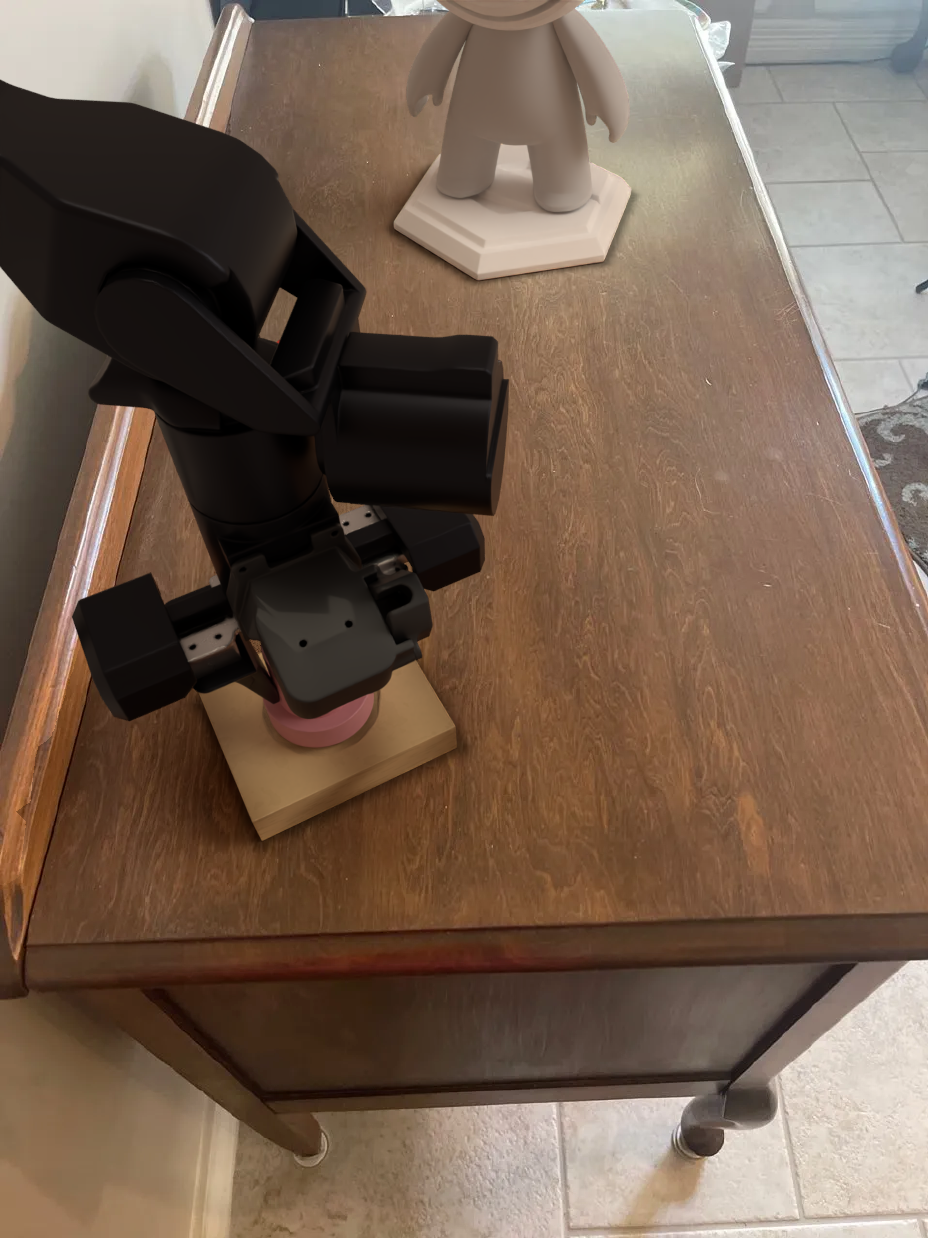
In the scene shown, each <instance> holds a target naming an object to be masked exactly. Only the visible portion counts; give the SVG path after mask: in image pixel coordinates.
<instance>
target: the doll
mask: <svg viewBox="0 0 928 1238" xmlns="http://www.w3.org/2000/svg"><path fill="white" fill-rule="evenodd" d="M260 651H261V652H262V656H263V658H264V661H265V664H266V667H267V669H268V671H267V672H268V674H269V676H270V678H271V680H272V682H273V684H274V686H275V688H276V690H277V693H278V696H279V699H280V702H278V703H276V704H272V703H270V702H269V701H267V700H265V699H264V698H263V702H264V705H265V708H266V710H267V713H268V715H269V718H270V720H271V723H272V725H273V726H274V728H275V729H276V731H277V732H278V733H279V734H280V735H281V736H282V737H284V738H285V739H287V740H288V741H290V742H292V743H294V744H297V745H300V746H305V747H313V748H316V747H326V746H331V745H335V744H337V743H340V742H342V741H344V740H346V739H348V738H349V737H351V736H352V735H354V734H355V733H356V732H357V731H358V730H359V729H360V728H361V727H362V726H363V725H364V724H365V722H366V721H367V719H368V717H369V715H370V713H371V710H372V708H373V702H374V693H372V694H368V695H365V696H363V697H360V698H358V699H356V700H354V701H352V702H349V703H347V704H345V705H343V706H340V707H338V708H336V709H334V710H332V711H330V712H329V713H327V714H325V715H323V716H320V717H318V718H314V719H304V718H301V717H299V716H297V715H295V714H294V713H293V712H292V711H291V710H290V708H289V706H288V704H287V702H286V700H285V698H284V695H283V693H282V691H281V688H280V686H279V684H278V682H277V680H276V677H275V675H274V673H273V671H272V669H271V666H270V664H269V662H268V660H267V658H266V655H265V653H264V651H263V649H262V646H261V645H260ZM261 652H260V653H261Z"/></svg>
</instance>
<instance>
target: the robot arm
mask: <svg viewBox="0 0 928 1238" xmlns="http://www.w3.org/2000/svg"><path fill="white" fill-rule="evenodd" d="M279 179H280V178H279V173H278V171H277V170H276V168H275V167H274V166H273V165H272V164H271V163H270V162H269V161H268V160H267V159H266V158H265V157H264V156H263V155H262V154H261V153H259V151H257V150H255V149H254V148H253V147H251V146H250V145H248V144H247V143H245V141H242V140H240V139H239V138H237V137H235V136H232V135H230V134H227V133H225V132H222V131H220V130H218V129H214V128H211V127H208V126H204V125H202V124H199V123H195V122H192V121H191V120H187V119H184V118H180V117H178V116H175V115H171V114H168V113H165V112H162V111H160V110H156V109H153V108H150V107H147V106H144V105H141V104H138V103H134V102H128V101H110V100H93V99H91V100H90V99H76V98H75V99H72V98H56V97H50V96H47V95H44V94H41V93H38V92H35V91H31V90H29V89H26V88H22V87H20V86H16V85H14V84H12V83H9V82H7V81H5V80H2V79H0V269H1V270H2V271H3V273H4V274H5V275H6V276H7V277H8V278H9V279H10V280H11V282H12V283H13V284H14V286H15V287H16V288H17V289H18V290H19V291H20V293H21V294H22V295H23V297H25V299H26V300H27V302H29V303H30V304H31V306H32V307H33V308H34V309H35V310H36V312H37V313H38V314H39V315H40V316H41V318H43V319H44V320H45V321H46V322H48V324H49V323H50V324H51V325H52V326H54V327H56V328H58V329H59V330H62V331H63V332H65V333H67V334H69V335H71V336H72V337H74V338H76V339H77V340H80V341H81V342H83V343H84V344H86V345H88V346H89V347H92V348H94V349H95V350H97V351H98V352H101V353H103V354H104V355H106V358H105V360H104V362H103V363H102V365H101V366H100V368H99V370H98V372H97V374H96V375H95V376H94V378H93V380H92V382H91V384H90V385H89V387H88V389H87V396H88V398H89V399H90V400H91V401H92V402H93V403H95V404H97V405H101V406H112V407H124V408H126V407H127V408H139V409H140V408H141V409H148V410H151V411H153V414H154V415H155V418H156V421H157V423H158V427H159V429H160V430H161V434H162V436H163V439H164V442H165V444H166V447H167V449H168V452H169V454H170V457H171V460H172V462H173V465H174V468H175V470H176V473H177V476H178V478H179V481H180V484H181V486H182V489H183V492H184V494H185V496H186V499H187V501H188V504H189V506H190V509H191V512H192V513H193V517H194V519H195V522H196V524H197V527H198V530H199V533H200V535H201V537H202V538H201V539H202V540H203V543H204V545H205V548H206V550H207V553H208V556H209V558H210V562H211V564H212V566H213V569H214V571H215V575H213V576H211V577H210V578H209V579H208V583H209V584H207V585H205V586H202V587H200V588H197V589H195V590H193V591H189V592H187V593H184V594H182V595H180V596H177V597H175V598H173V599H170V600H168V601H167V602H165V601H164V600H163V597H162V593H161V591H160V588H159V586H158V584H157V581H156V580H155V578H154V575H153V573H152V571H151V572H147V573H145V574H141V575H140V576H137V577H134V578H132V579H129V580H127V581H124V582H121V583H119V584H116V585H114V586H111V587H109V588H106V589H104V590H103V589H102V590H101V591H98V592H96V593H93V594H90V595H88V596H86V597H83V598H80V599H79V600H77V603H76V605H75V608H74V610H73V612H72V615H71V619H72V622H73V625H74V628H75V631H76V633H77V637H78V639H79V642H80V646H81V648H82V651H83V652H82V653H83V654H84V657H85V660H86V664H87V666H88V669H89V672H90V676H91V678H92V681H93V684H94V685H95V688H96V690H97V693H98V695H99V696H100V698H101V700H102V702H103V703H104V704H105V706H106V708H107V709H108V710H109V712H110V713H111V715H112V717H113V718H115V719H119V720H122V721H126V722H133V721H135V720H137V719H139V718H141V717H144V716H146V715H148V714H151V713H153V712H155V711H158V710H160V709H163V708H165V707H167V706H169V705H172V704H174V703H177V702H178V701H181V700H184V699H185V698H186V699H187V696H188V695H189V694H190V692H191V691H192V690H194V691H195V692H197V693H198V692H199V693H202V694H206V693H210V692H213V691H215V690H217V689H220V688H222V687H224V686H227V685H229V684H231V683H234V682H236V683H239V684H241V685H243V686H245V687H246V688H248V689H250V690H251V691H253V692H254V693H256V694H258V695H259V696H261V697H262V698H264V699H265V700H267V701H269V702H270V703H272V704H276V703H278V702H280V699H279V696H278V693H277V690H276V688H275V686H274V684H273V682H272V680H271V678H270V676H269V674H268V672H267V669H266V667H265V665H264V664H263V662H262V660H261V659H260V657H259V655H258V654H259V653H258V652H257V650H256V648H255V647H254V645H253V644H252V642H251V641H257V642H259V643H260V647H261V646H262V649H263V651H264V653H265V655H266V658H267V660H268V662H269V664H270V666H271V669H272V671H273V673H274V675H275V677H276V680H277V682H278V684H279V686H280V688H281V691H282V693H283V695H284V698H285V700H286V702H287V704H288V706H289V708H290V710H291V711H292V712H293V713H294V714H295V715H297V716H299V717H301V718H304V719H314V718H318V717H320V716H323V715H325V714H327V713H329V712H330V711H332V710H334V709H336V708H338V707H340V706H343V705H345V704H347V703H349V702H352V701H354V700H356V699H358V698H360V697H363V696H365V695H368V694H372V693H374V692H376V691H378V690H380V689H382V688H383V687H385V686H386V685H387V684H388V682H389V681H390V679H391V676H392V672H393V671H394V670H396V669H398V668H401V667H403V666H405V665H407V664H410V663H412V662H414V661H415V660H416V661H417V662H418V661H419V660H422V659H423V653H422V649H421V647H420V644H419V642H421V641H422V640H425V639H427V638H429V637H430V635H431V633H432V629H433V627H434V625H433V624H434V623H433V618H432V611H431V606H430V599H429V596H428V594H427V592H426V591H431V592H437V591H439V590H441V589H444V588H446V587H448V586H451V585H453V584H455V583H458V582H460V581H462V580H465V579H466V578H470V577H471V576H474V575H476V574H478V573H481V571H482V569H483V566H484V563H485V561H486V539H485V535H484V533H483V530H482V527H481V524H480V522H479V520H478V519H477V518H476V516H475V515H477V516H487V517H488V516H490V517H494V516H495V515H496V514H497V510H498V506H499V503H500V495H501V490H502V483H503V475H504V467H505V458H506V449H507V435H508V421H509V419H508V418H509V401H510V379H509V378H505V375H504V365H503V364H504V363H503V361H502V360H501V359H499V341H498V340H497V339H496V338H495V337H494V336H492V335H481V334H479V335H478V334H452V335H447V336H422V335H421V336H420V335H404V334H389V333H376V332H361V327H360V319H359V317H360V314H361V311H362V308H363V305H364V302H365V300H366V297H367V289H366V287H365V285H363V283H362V282H361V281H360V280H359V279H358V278H357V276H355V274H353V272H352V271H351V270H350V269H349V268H348V267H347V266H346V265H345V263H344V262H343V261H342V260H341V259H340V258H339V257H338V256H337V255H336V254H335V252H334V251H332V250H331V248H330V247H329V245H327V244H326V242H325V241H323V239H322V238H320V236H319V235H318V234H317V233H316V232H315V231H314V229H312V228H311V227H310V225H309V224H308V223H307V222H306V221H305V220H304V218H303V217H301V215H299V213H298V212H297V211H296V210H295V209H294V208H293V206H292V204H291V202H290V200H289V198H288V196H287V194H286V192H285V190H284V188H283V186H282V185H281V182H279ZM280 289H281V290H283V291H285V292H286V293H288V294H290V295H292V296H293V297H296V300H295V302H294V305H293V306H292V309H291V312H290V314H289V317H288V319H287V321H286V324H285V326H284V329H283V331H282V333H281V336H280V339H279V340H280V341H279V343H277V341H274V340H271V339H268V338H264V337H261V335H260V334H261V332H262V330H263V327H264V326H265V325H264V324H265V323H266V320H267V318H268V316H269V313H270V312H271V309H272V306H273V304H274V302H275V300H276V297H277V295H278V292H279V290H280ZM331 497H332V498H331ZM332 499H333V501H334V502H335V503H341V504H350V505H360V506H358V507H357V508H354V509H352V510H349V511H346V512H344V513H342V514H339V512H338V510H337V509H336V507H335V505H334V504H333V502H332ZM406 563H408V564H409V565H410V567H411V571H410V570H409V566H408V565H407V564H406ZM199 693H198V694H199Z"/></svg>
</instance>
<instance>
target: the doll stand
mask: <svg viewBox="0 0 928 1238" xmlns="http://www.w3.org/2000/svg"><path fill="white" fill-rule="evenodd" d="M257 654H258V655H259V657H260V659H261V660H262V662H263V664H264V665H265V667H266V664H265V661H264V658H263V656H262V652H259V653H257ZM266 669H267V667H266ZM267 671H268V669H267ZM197 693H198V695H199V698H200V700H201V702H202V704H203V707H204V709H205V712H206V714H207V717H208V719H209V721H210V724H211V726H212V728H213V731H214V734H215V736H216V739H217V741H218V744H219V746H220V749H221V750H222V751H221V752H222V753H223V755H224V758H225V760H226V762H227V766H228V767H229V770H230V772H231V774H232V777H233V779H234V781H235V784H236V786H237V789H238V791H239V794H240V796H241V799H242V801H243V804H244V806H245V809H246V811H247V814H248V817H249V818H250V820H251V823H252V824H253V826H254V827H253V828H255V830H256V833H257V835H258V836H259V838H260V840H261V841H262V842H263V841H265V840H268V839H269V838H272V837H274V836H276V835H277V834H279V833H283V832H284V831H286V830H288V829H290V828H292V827H294V826H296V825H299V824H300V823H303V822H304V821H307V820H309V819H311V818H313V817H315V816H318V815H319V814H321V813H323V812H325V811H328V810H330V809H332V808H334V807H336V806H338V805H340V804H342V803H345V802H346V801H349V800H351V799H354V798H355V797H357V796H359V795H361V794H363V793H366V792H367V791H370V790H373V789H374V788H376V787H377V786H380V785H382V784H385V783H387V782H389V781H390V780H393V779H395V778H397V777H398V776H401V775H403V774H405V773H408V772H409V771H411V770H414V769H415V768H418V767H420V766H421V765H424V764H426V763H428V762H430V761H433V760H435V759H436V758H438V757H441V756H442V755H443V756H444V754H447V753H449V752H451V751H454V750H455V749H457V745H458V744H457V729H456V725H455V723H454V721H453V719H452V718H451V716H450V715H449V713H448V711H447V710H446V708H445V706H444V705H443V703H442V701H441V700H440V699H439V697H438V695H437V693H436V691H435V689H434V688H433V686H432V685H431V683H430V681H429V680H428V677H427V676H426V675H425V673H424V672H423V669H422V668H421V666H420V665H419V663H418V660H417V661H416V660H415V661H414V662H412V663H410V664H407V665H405V666H403V667H401V668H398V669H396V670H394V671H393V672H392V676H391V679H390V681H389V682H388V684H387V685H386V686H385V687H383V688H382V689H380V690H378V691H376V692H374V702H373V708H372V710H371V713H370V715H369V717H368V719H367V721H366V722H365V724H364V725H363V726H362V727H361V728H360V729H359V730H358V731H357V732H356V733H355V734H354V735H352V736H351V737H349V738H348V739H346V740H344V741H342V742H340V743H337V744H335V745H331V746H326V747H316V748H313V747H305V746H300V745H297V744H294V743H292V742H290V741H288V740H287V739H285V738H284V737H282V736H281V735H280V734H279V733H278V732H277V731H276V729H275V728H274V726H273V725H272V723H271V720H270V718H269V715H268V713H267V710H266V708H265V705H264V702H263V698H262V697H261V696H259V695H258V694H256V693H254V692H253V691H251V690H250V689H248V688H246V687H245V686H243V685H241V684H239V683H236V682H234V683H231V684H229V685H227V686H224V687H222V688H220V689H217V690H215V691H213V692H210V693H206V694H202V693H199V692H197Z"/></svg>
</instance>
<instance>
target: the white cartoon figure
mask: <svg viewBox="0 0 928 1238" xmlns="http://www.w3.org/2000/svg"><path fill="white" fill-rule="evenodd" d="M585 1H586V0H436V2H437V3H439V4H440V5H441V6H442V7H443V8H445V9H446V10H448V11H447V12H446V13H445V14H444V16H443V17H442V18H441V19H440V20H439V21H438V23H436V25H434V27H433V28H432V30H431V31H430V33H428V35H427V36H426V39H425V40H424V42H423V43H422V44H421V46H420V48H419V49H418V51H417V53H416V55H415V57H414V58H413V61H412V63H411V65H410V68H409V71H408V75H407V80H406V86H405V101H406V106H407V111H408V112H409V114H410V116H411V117H412V118H417V117H418V116H419V114H421V112H422V111H423V110H424V108H425V106H426V105H427V104H428V102H429V96H430V95H431V96H432V98H431V99H432V100H431V101H432V104H433V106H434V107H439V106H441V105H442V103H443V100H444V96H445V91H446V88H447V85H448V82H449V79H450V76H451V73H452V70H453V69H454V65H455V64H456V61H457V59H458V57H459V54H460V53H461V54H460V59H459V63H458V66H457V70H456V75H455V78H454V83H453V86H452V91H451V97H450V101H449V106H448V110H447V114H446V119H445V125H444V131H443V135H442V136H443V138H442V145H441V151H440V153H439V154H438V155H437V157H436V158H435V159H434V160H433V162H432V163H431V165H430V166H429V168H428V169H427V171H426V172H425V173H424V175H423V177H422V178H421V179H420V181H419V183H418V184H417V186H416V187H415V189H414V190H413V192H411V195H410V196H409V198H408V199H407V200H406V202H405V204H404V206H403V207H402V208H401V209H400V212H398V214H397V216H396V218H395V219H394V220H393V228H394V230H396V231H397V232H398V233H400V234H402V235H403V236H405V237H407V238H408V239H410V240H411V241H413V242H415V243H416V244H418V245H420V246H421V247H423V248H424V249H426V250H428V251H429V252H430V253H433V254H434V255H436V256H437V257H439V258H441V259H442V260H444V261H446V262H447V263H449V264H450V265H452V266H453V267H455V268H457V269H458V270H460V271H461V272H463V273H464V274H466V275H468V276H470V277H471V278H473V279H475V280H476V281H482V280H490V279H496V278H497V279H498V278H504V277H510V276H516V275H524V274H529V273H536V272H543V271H549V270H550V271H551V270H557V269H562V268H570V267H577V266H582V265H589V264H596V263H597V264H598V263H603V262H604V261H605V260H606V257H607V254H608V252H609V250H610V247H611V244H612V243H613V240H614V237H615V235H616V232H617V230H618V227H619V226H620V224H621V223H620V222H621V220H622V218H623V215H624V212H625V210H626V207H627V205H628V202H629V200H630V198H631V195H632V187H631V186H630V185H629V184H628V182H627V181H626V180H625V179H624V178H623V177H622V176H620V175H618V174H616V173H614V172H612V171H610V170H608V169H606V168H604V167H602V166H600V165H598V164H595V163H594V162H592V161H590V153H589V144H588V137H587V131H586V124H585V122H586V123H587V125H588V126H590V127H593V126H594V125H595V124H596V122H597V117H598V118H599V120H601V122H602V123H603V124H604V125H605V126H606V128H607V130H608V141H609V143H612V144H615V143H618V141H619V140H621V138H622V137H623V136H624V134H625V132H626V130H627V128H628V126H629V123H630V117H631V104H630V103H631V102H630V96H629V91H628V87H627V85H626V82H625V79H624V76H623V74H622V72H621V70H620V68H619V66H618V64H617V62H616V60H615V58H614V56H613V55H612V53H611V52H610V50H609V48H608V47H607V45H606V43H605V42H604V40H603V39H602V37H601V36H600V35H599V33H598V32H597V31H596V29H595V28H594V26H593V25H592V24H591V23H590V22H589V21H588V20H587V19H586V17H585V16H584V15H583V14H582V13H581V12H579V11H578V10H577V9H576V8H577V7H579V6H580V5H581V4H582V3H584V2H585ZM461 51H462V52H461ZM580 95H581V96H580ZM581 98H582V100H581ZM581 101H582V102H583V106H584V112H583V107H582V102H581ZM584 113H585V114H584ZM584 115H585V119H584Z"/></svg>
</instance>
